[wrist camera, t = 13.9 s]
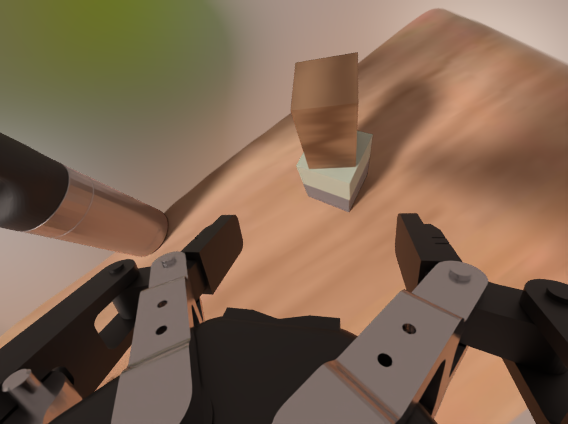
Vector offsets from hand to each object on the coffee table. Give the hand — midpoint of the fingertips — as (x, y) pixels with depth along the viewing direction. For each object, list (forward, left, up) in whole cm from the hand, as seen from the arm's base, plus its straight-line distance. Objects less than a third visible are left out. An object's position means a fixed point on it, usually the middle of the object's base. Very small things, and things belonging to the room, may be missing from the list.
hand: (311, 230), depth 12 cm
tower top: (-6, +13, -19) cm, 24 cm away
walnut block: (-6, +13, -14) cm, 20 cm away
